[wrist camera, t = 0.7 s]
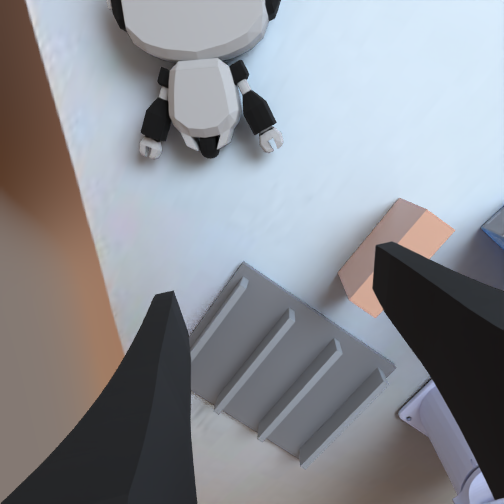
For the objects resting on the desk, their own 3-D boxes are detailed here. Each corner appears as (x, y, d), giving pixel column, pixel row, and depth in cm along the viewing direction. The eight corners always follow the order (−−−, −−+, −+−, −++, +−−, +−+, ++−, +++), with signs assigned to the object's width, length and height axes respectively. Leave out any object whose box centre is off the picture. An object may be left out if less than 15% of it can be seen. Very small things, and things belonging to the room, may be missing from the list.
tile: (422, 214, 29) (455, 230, 23) (359, 287, 31) (375, 318, 26) (399, 197, 29) (426, 209, 23) (337, 272, 31) (348, 299, 26)
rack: (394, 364, 33) (403, 381, 31) (303, 457, 37) (304, 479, 34) (243, 261, 32) (240, 270, 29) (165, 369, 36) (156, 385, 33)
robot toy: (289, 151, 30) (284, -74, 25) (290, 156, 25) (283, -115, 20) (148, 159, 31) (115, -53, 26) (126, 165, 27) (81, -87, 22)
